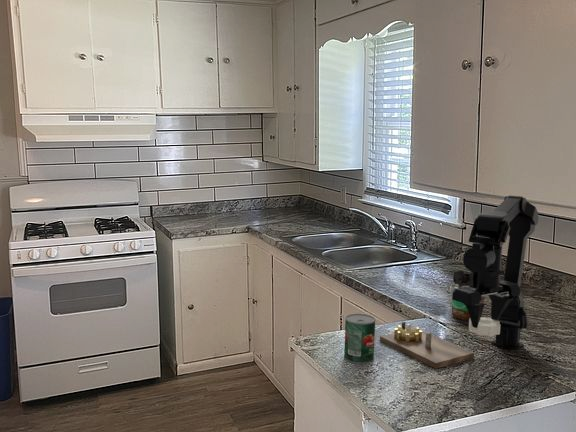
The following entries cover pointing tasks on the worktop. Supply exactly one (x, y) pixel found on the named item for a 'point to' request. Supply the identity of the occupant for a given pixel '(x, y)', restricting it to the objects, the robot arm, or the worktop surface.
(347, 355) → the canned tomato
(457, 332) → the worktop surface
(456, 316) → the food container
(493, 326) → the loose gear
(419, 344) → the gear board
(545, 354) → the worktop surface
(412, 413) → the worktop surface
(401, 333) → the gear
